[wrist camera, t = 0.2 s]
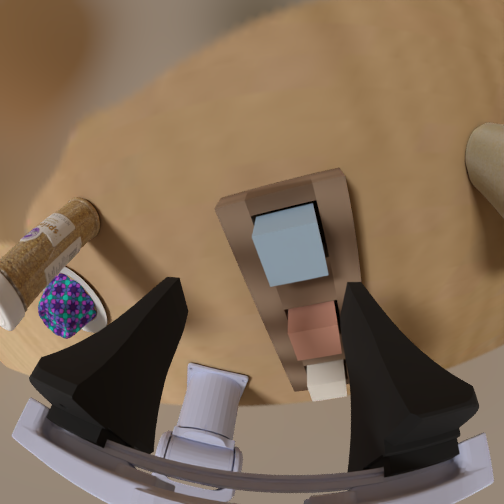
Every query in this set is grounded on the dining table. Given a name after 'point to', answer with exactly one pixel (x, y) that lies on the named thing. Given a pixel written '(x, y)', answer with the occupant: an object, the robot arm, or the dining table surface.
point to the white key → (326, 380)
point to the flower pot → (487, 163)
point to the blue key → (290, 245)
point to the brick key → (314, 331)
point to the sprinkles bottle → (43, 257)
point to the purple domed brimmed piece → (70, 306)
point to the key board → (302, 292)
